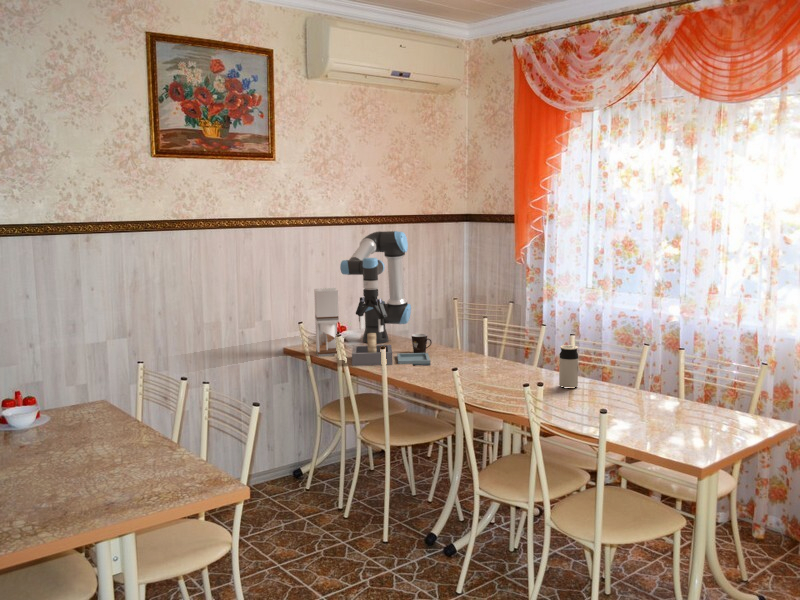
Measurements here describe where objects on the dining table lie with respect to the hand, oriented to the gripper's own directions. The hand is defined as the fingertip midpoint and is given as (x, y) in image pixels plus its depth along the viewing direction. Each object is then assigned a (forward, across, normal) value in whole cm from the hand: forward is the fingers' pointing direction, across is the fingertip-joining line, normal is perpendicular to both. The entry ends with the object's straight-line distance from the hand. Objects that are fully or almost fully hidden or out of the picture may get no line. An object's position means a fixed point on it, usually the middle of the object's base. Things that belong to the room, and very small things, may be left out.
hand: (371, 330), depth 382 cm
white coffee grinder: (+17, -34, 0) cm, 38 cm away
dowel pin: (+16, 0, 0) cm, 16 cm away
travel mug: (+17, +101, +21) cm, 105 cm away
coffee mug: (+17, +5, +32) cm, 36 cm away
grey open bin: (+17, 0, 0) cm, 17 cm away
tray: (+17, +15, +15) cm, 27 cm away
